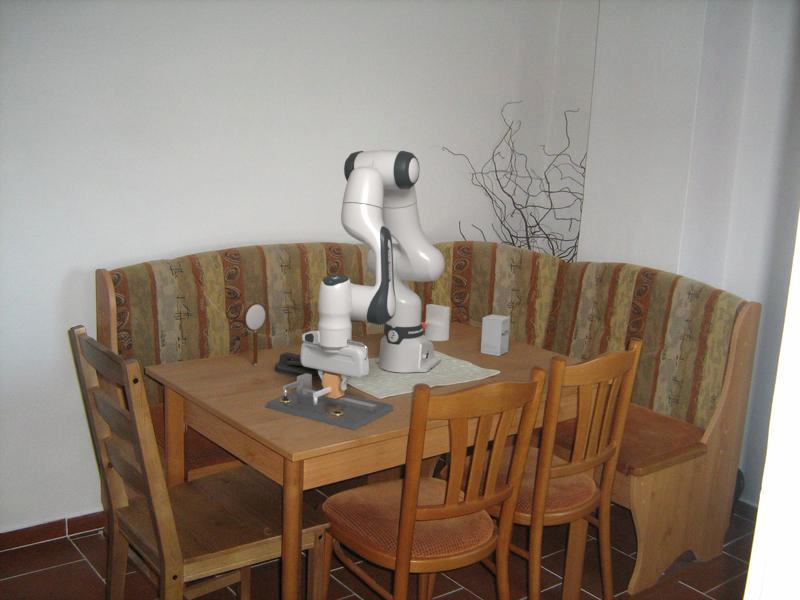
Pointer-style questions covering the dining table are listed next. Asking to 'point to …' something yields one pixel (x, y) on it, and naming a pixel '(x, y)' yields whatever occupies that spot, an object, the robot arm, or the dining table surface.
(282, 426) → the dining table surface
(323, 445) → the dining table surface
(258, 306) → the magnifying glass
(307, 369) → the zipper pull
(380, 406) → the plate
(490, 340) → the supplement box
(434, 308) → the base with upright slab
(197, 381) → the dining table surface
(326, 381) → the leg
